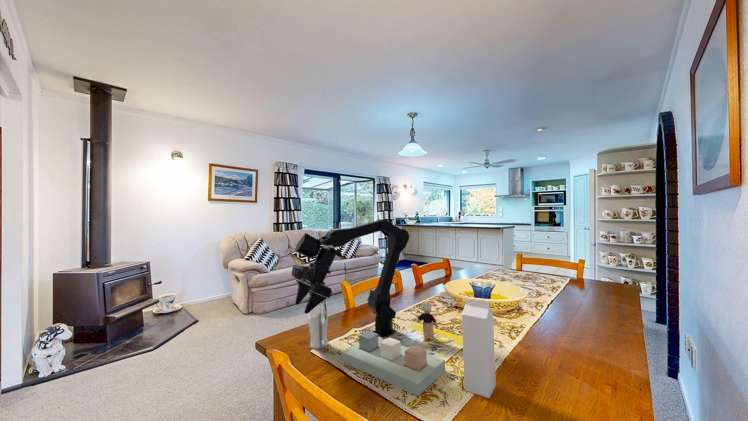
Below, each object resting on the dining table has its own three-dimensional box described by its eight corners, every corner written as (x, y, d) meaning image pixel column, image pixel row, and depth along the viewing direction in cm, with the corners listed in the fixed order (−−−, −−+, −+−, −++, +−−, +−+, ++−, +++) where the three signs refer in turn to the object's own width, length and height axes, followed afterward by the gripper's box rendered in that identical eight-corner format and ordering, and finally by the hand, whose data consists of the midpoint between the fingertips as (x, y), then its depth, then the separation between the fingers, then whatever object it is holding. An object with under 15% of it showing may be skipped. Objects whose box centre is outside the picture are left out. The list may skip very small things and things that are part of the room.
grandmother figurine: (440, 339, 100) (439, 302, 100) (437, 344, 97) (436, 306, 97) (418, 336, 104) (417, 300, 104) (415, 340, 100) (414, 303, 100)
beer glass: (324, 350, 95) (323, 304, 95) (305, 349, 97) (303, 304, 97) (332, 341, 102) (330, 298, 102) (313, 339, 103) (311, 297, 103)
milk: (472, 378, 77) (468, 295, 77) (496, 386, 73) (492, 298, 73) (464, 390, 72) (460, 301, 72) (489, 399, 68) (485, 305, 68)
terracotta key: (413, 361, 82) (413, 345, 82) (426, 365, 79) (426, 349, 79) (405, 367, 78) (404, 351, 78) (418, 372, 76) (417, 355, 76)
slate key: (368, 344, 93) (367, 330, 93) (378, 348, 90) (378, 333, 90) (359, 349, 90) (358, 335, 90) (369, 353, 87) (369, 338, 87)
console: (371, 344, 98) (371, 335, 98) (445, 370, 81) (444, 359, 81) (341, 361, 88) (341, 351, 88) (418, 396, 70) (418, 383, 70)
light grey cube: (389, 352, 87) (389, 337, 87) (401, 356, 84) (400, 341, 84) (380, 358, 84) (380, 342, 84) (392, 362, 81) (391, 346, 81)
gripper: (293, 250, 102) (271, 292, 98) (312, 260, 86) (287, 310, 83) (319, 262, 107) (300, 302, 104) (342, 273, 91) (319, 321, 88)
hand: (301, 308), depth 94 cm, fingers open, 9 cm apart
